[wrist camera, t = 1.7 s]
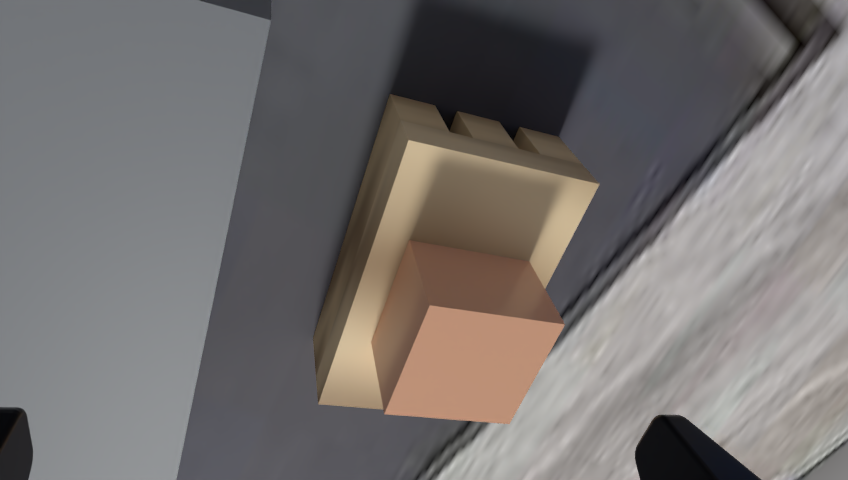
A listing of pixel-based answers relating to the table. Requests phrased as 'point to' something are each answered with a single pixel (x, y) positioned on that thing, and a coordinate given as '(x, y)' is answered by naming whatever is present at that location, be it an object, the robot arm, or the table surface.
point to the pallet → (440, 222)
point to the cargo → (462, 335)
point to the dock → (116, 217)
